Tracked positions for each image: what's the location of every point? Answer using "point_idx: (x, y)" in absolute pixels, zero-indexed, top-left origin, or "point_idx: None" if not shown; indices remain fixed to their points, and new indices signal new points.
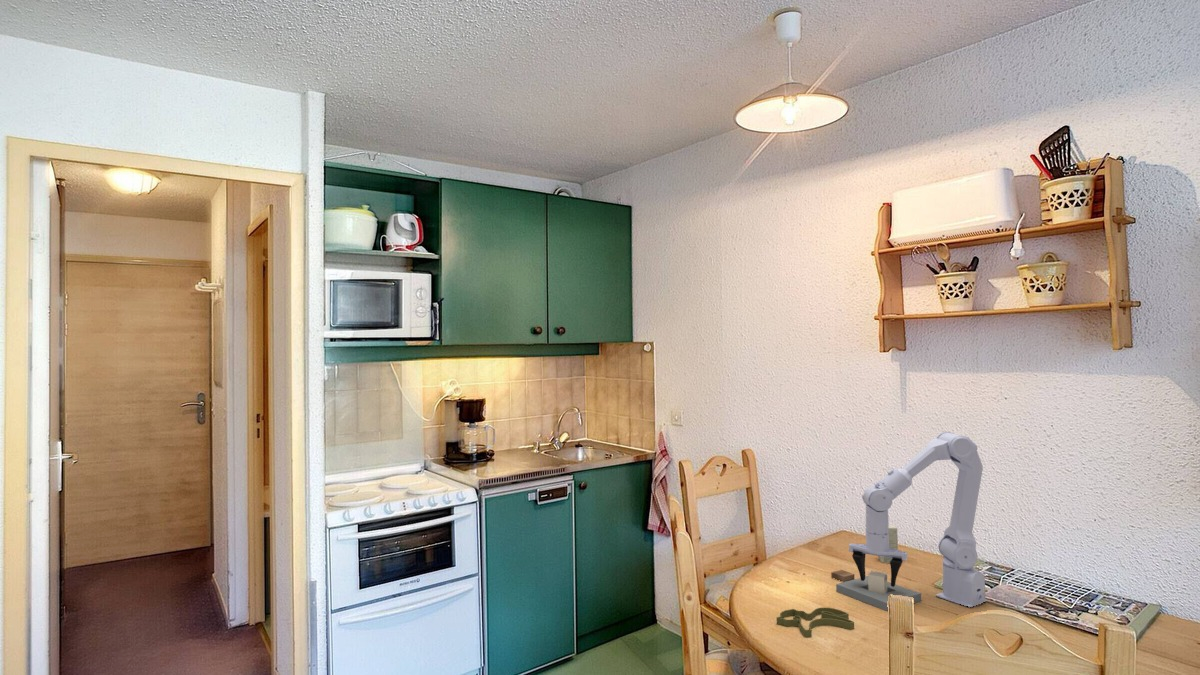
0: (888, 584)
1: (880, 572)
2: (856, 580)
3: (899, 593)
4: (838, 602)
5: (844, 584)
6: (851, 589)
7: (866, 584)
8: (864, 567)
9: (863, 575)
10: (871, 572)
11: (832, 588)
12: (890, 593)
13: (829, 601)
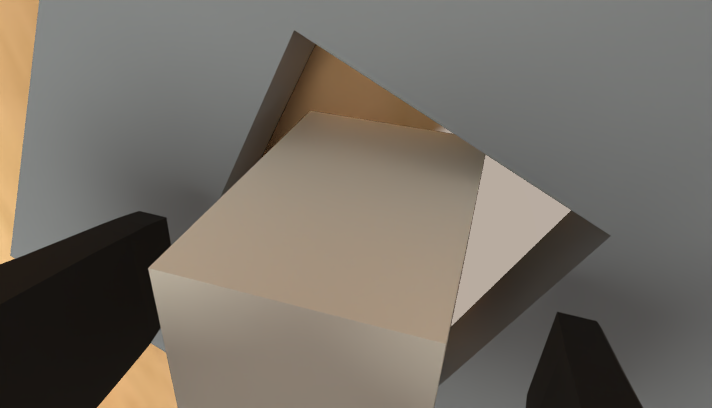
0: (497, 6)
1: (315, 333)
2: (72, 49)
3: (639, 340)
4: (171, 401)
5: (58, 240)
6: (160, 345)
7: (217, 155)
8: (21, 324)
9: (132, 339)
10: (188, 366)
11: (7, 156)
12: (518, 362)
13: (126, 396)
